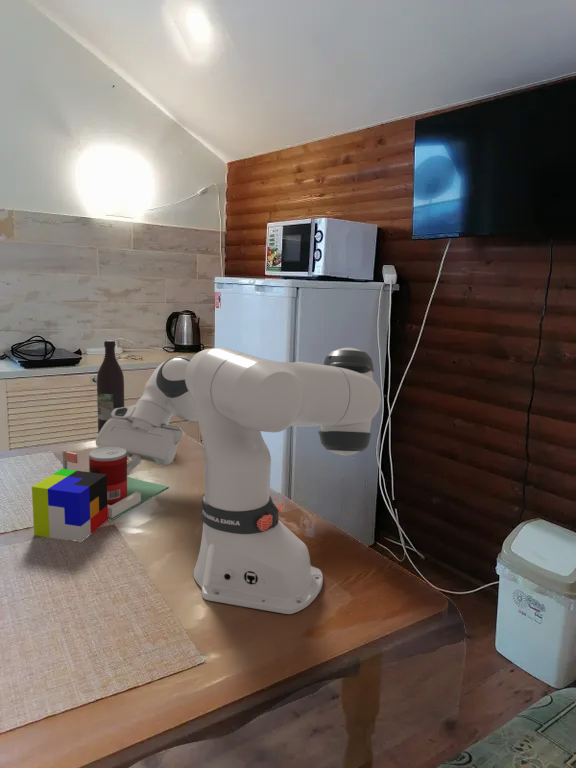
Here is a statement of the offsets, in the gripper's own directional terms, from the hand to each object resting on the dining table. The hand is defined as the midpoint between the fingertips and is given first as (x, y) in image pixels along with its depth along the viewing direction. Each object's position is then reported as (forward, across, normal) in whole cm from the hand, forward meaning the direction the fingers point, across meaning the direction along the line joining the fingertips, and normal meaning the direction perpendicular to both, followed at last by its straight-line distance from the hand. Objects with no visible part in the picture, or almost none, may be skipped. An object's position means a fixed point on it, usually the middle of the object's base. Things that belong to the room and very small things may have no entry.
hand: (121, 473), depth 134 cm
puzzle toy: (+16, -2, +9) cm, 19 cm away
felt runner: (+5, 0, -2) cm, 5 cm away
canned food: (+7, 0, 0) cm, 7 cm away
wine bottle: (-13, +23, -21) cm, 34 cm away
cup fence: (+8, 0, +1) cm, 8 cm away
